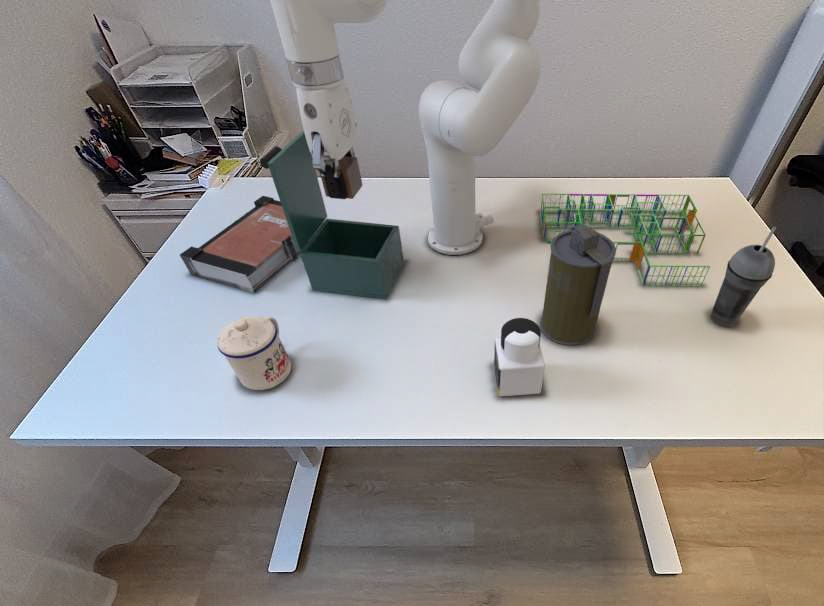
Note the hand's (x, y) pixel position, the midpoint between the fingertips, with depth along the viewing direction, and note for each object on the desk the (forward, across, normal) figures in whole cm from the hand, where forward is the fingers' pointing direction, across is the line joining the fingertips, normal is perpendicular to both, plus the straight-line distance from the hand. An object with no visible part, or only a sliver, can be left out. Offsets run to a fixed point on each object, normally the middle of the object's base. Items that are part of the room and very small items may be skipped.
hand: (344, 188), depth 81 cm
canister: (+20, -7, -43) cm, 48 cm away
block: (0, 0, 0) cm, 0 cm away
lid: (+2, +1, +9) cm, 9 cm away
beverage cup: (+20, 0, -72) cm, 75 cm away
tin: (+20, +1, +2) cm, 20 cm away
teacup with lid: (+20, -26, +8) cm, 34 cm away
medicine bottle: (+20, -22, -35) cm, 46 cm away
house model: (+20, +23, -53) cm, 61 cm away
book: (+20, +6, +26) cm, 34 cm away
